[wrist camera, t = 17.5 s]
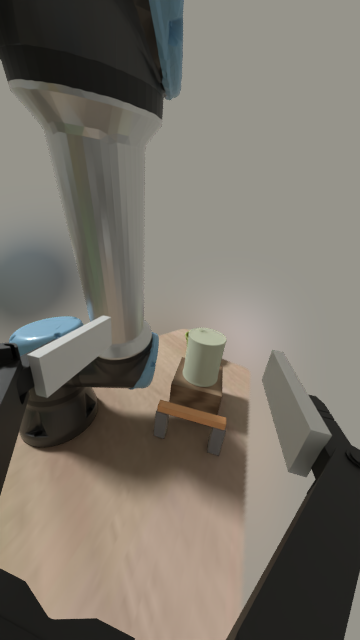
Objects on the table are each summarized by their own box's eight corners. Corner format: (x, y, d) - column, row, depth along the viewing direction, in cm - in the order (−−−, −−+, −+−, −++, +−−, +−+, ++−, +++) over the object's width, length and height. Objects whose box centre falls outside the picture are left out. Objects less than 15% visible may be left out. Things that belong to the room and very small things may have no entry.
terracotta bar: (157, 411, 38) (157, 405, 38) (159, 405, 40) (160, 399, 39) (224, 430, 36) (226, 424, 36) (224, 423, 38) (226, 417, 37)
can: (205, 361, 54) (212, 324, 50) (224, 382, 46) (235, 340, 42) (176, 367, 50) (182, 327, 45) (193, 390, 42) (201, 345, 38)
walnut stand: (168, 411, 47) (171, 383, 44) (178, 381, 58) (182, 357, 55) (214, 424, 45) (221, 396, 42) (216, 390, 56) (222, 366, 53)
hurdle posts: (153, 435, 41) (155, 412, 38) (157, 426, 43) (159, 403, 40) (218, 455, 38) (225, 432, 36) (219, 444, 40) (225, 422, 38)
